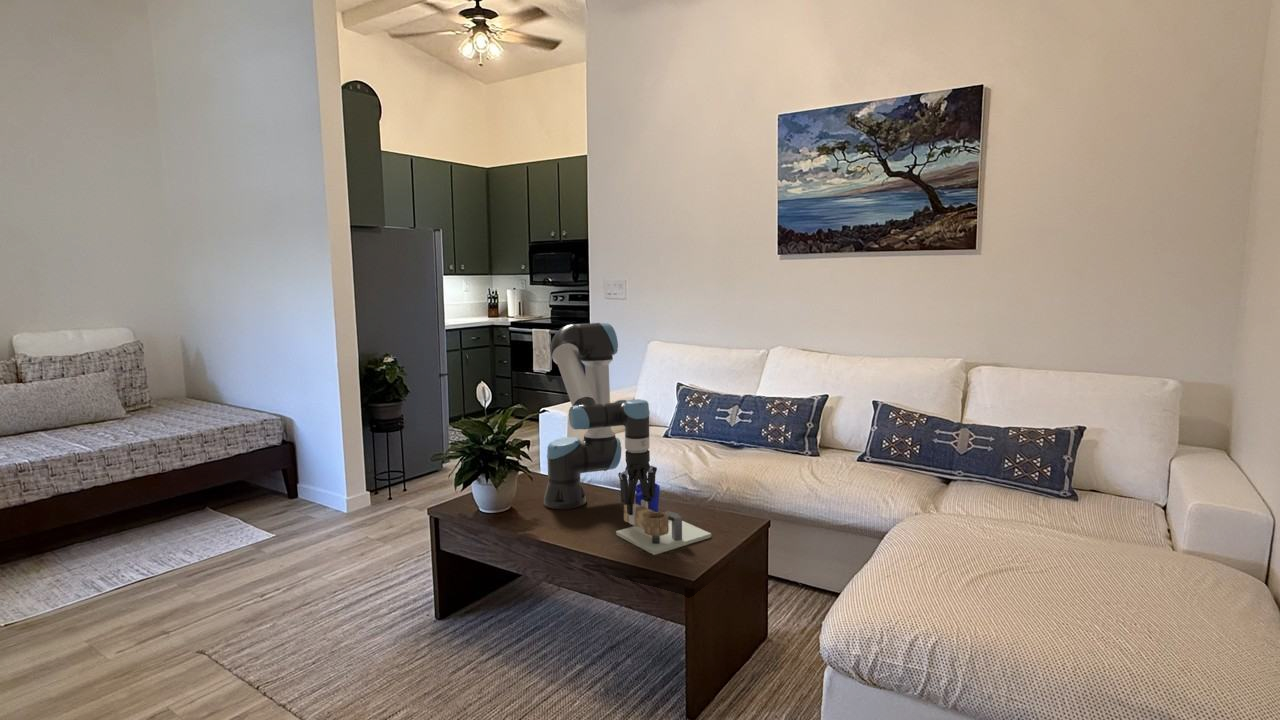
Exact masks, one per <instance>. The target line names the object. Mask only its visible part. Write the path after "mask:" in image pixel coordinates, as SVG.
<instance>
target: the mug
mask: <svg viewBox="0 0 1280 720" xmlns="http://www.w3.org/2000/svg"><path fill="white" fill-rule="evenodd" d="M660 488H661V487H660V485H659V484H658V483H655V497H654V498H651V499H652V501H651V502H650V510H652V511H655V512H659V503H660V502H659V501H660ZM641 500H644V499H643V496H642V490H641V485H640V483H637V484H636V491H635V497H634V501H635V503H636V504H638V505H640V506H641Z"/></svg>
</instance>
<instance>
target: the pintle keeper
mask: <svg viewBox="0 0 1280 720" xmlns="http://www.w3.org/2000/svg"><path fill="white" fill-rule="evenodd" d="M663 512H664V513H666V514H668V520H671V521H672V539H673V540H675V541H677V540H682V521H683V517H682V516H680V515H681V514H680V513H677V512H673V511H669V510H667V511H663ZM652 518H660V517H658V516H654V517H652ZM652 543H653V544H659V543H660V536H652Z"/></svg>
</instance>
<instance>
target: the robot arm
mask: <svg viewBox="0 0 1280 720" xmlns="http://www.w3.org/2000/svg"><path fill="white" fill-rule="evenodd" d="M618 341H619V340H618V336H617V332H616V331H615V329H614V327H613V326H612V324H610V323H606V322H592V323H590V322H589V323H571V324H566V325H565V326H562V327H561V328H560V329H559V330H557V332H555V334H554V336H553V338H552V339H551V343H550V356H551V359H552V361H553V362H554V363H555V364H556V365H557V367H558V370H559V372H560V375H561V378H562V381H563V384H564V387H565V390H566V394H567V396H568V398H569V401H570V404H571V407H570V408H569V410H568V420H569V421H568V422H569V425H570V427H571V429H572V430H586V431H585V432H584V434H583V440H580V438H578V437H577V436H567V437H566V436H565V437H560V438H557V439H554V440H552V441H551V442H549V443H548V446H547V455H546V458H547V480H548V481H547V486H546V488H545V493H544V496H543V505H544V506H545V507H546V508H549V509H553V510H572V509H577V508H579V507H582V506H583V505H585V504H586V501H587V499H586V494H585V490H584V488H583V485H582V481H581V474H586V473H592V472H594V473H595V472H601V471H602V472H603V471H604V472H606V471H609V470H614V469H616V468H618V466H619V464H620V462H621V459H622V443H621V440H620V438H618V437H617V436H616V432H615V431H613V430H612V427H618V426H620V427H622V426H624V437H625V438H624V448H625V450H626V451H625V452H624V453H625V463H626V467H625V469H624V471H622V472H618V473H617V475H618V478H619V481H620V483H619V485H620V502H621V503H622V504H624V505H627V514H628V515H629V525H632V526H635V525H636V505H635V504H634V503H635V496H636V486H637V485H638V484H640V485H641V490H642V496H643V499H644V500H641V506H643V507H645V508H648V509H650V502H651V501H652V499H651V498H654V497H655V484H656V474H657V470H658V467H656V466H654V465H650V460H651V457H650V455H651V453H650V405H649V402H648V401H647V400H645V399H641V398H640V399H638V398H637V399H628V400H625V399H618V400H616V401H615V402H611V393H610V391H611V389H610V388H611V387H610V368H609V367H610V364H611V363H612V361H614V360H613V356H615V355H616V354H617V353H618V349H619V342H618ZM579 357H580V358H579ZM582 364H583V365H584V367H585V368H583V366H582ZM584 369H585V371H584ZM638 482H639V483H638Z"/></svg>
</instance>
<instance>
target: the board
mask: <svg viewBox="0 0 1280 720" xmlns="http://www.w3.org/2000/svg"><path fill="white" fill-rule="evenodd" d="M668 522H669V531H668V534H665V535H662V536H660V543H659V544H653V543H652V536H651V535H648V534H646V533H645V530H643V529H641V528H639V527H637V526H634V525H632V526H630V527H626V528H623V529H619V530H616V531H615V535H616V536H618V537H620V538H621V539H623V540H625V541H627V542H629V543H631V544H632V545H634V546H636V547H639V548H640V549H642V550H644V551H646V552H647V553H649V554H651V555H653V556H656V555H659V554H661V553H664V552H669V551H671V550H674V549H678V548H681V547H684V546H688V545H691V544H694V543H697V542H699V541H700V542H701V541H704V540H706V539H710V538H712V533H711V532H709V531H707V530H704V529H702V528H700V527H698V526H696V525H693V524H691V523H688V522H686V521H684V520H682V540H677V541H675V540H673V539H672V521H671V520H668Z"/></svg>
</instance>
